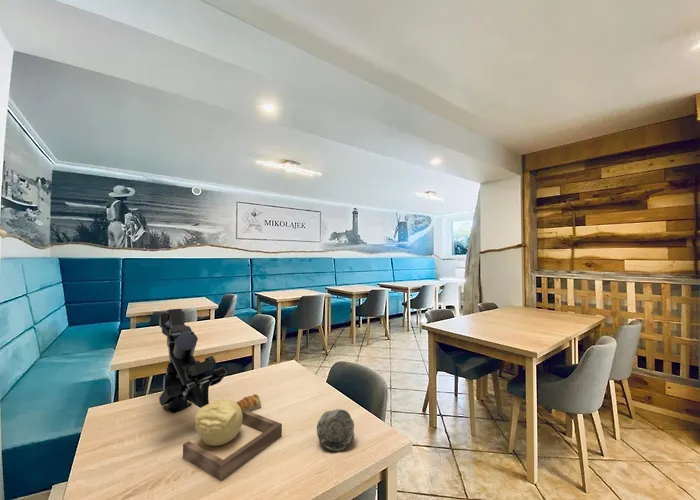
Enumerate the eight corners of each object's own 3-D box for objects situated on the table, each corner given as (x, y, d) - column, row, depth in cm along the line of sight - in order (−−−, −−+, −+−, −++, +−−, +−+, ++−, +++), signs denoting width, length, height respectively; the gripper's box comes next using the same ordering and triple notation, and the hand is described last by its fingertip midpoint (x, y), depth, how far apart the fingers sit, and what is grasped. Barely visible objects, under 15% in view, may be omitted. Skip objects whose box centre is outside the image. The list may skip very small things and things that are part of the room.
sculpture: (187, 450, 80) (188, 409, 80) (214, 425, 92) (214, 389, 92) (227, 454, 78) (227, 413, 79) (249, 428, 90) (249, 392, 91)
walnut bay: (182, 457, 77) (182, 444, 77) (245, 420, 94) (245, 409, 94) (221, 480, 69) (221, 465, 69) (281, 436, 87) (281, 423, 87)
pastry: (235, 418, 96) (235, 406, 96) (227, 410, 101) (228, 398, 101) (262, 408, 103) (263, 397, 103) (254, 401, 108) (254, 390, 108)
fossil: (325, 457, 77) (317, 414, 81) (314, 455, 84) (308, 416, 88) (362, 444, 82) (353, 404, 86) (349, 443, 89) (341, 406, 93)
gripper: (165, 359, 83) (187, 409, 77) (223, 342, 99) (246, 383, 93) (150, 381, 87) (170, 431, 81) (208, 361, 103) (229, 402, 97)
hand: (207, 409), depth 88 cm, fingers closed
